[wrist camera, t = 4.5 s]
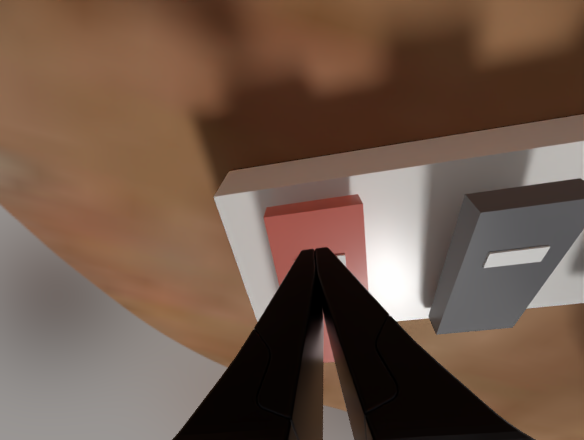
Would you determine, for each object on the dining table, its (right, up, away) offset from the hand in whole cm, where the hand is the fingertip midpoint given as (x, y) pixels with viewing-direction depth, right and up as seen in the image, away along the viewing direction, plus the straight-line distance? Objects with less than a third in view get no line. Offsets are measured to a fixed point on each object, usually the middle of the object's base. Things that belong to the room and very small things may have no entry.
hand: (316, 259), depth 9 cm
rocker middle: (+8, -1, +3) cm, 8 cm away
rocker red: (+1, -2, +4) cm, 4 cm away
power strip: (+10, +2, +6) cm, 12 cm away
